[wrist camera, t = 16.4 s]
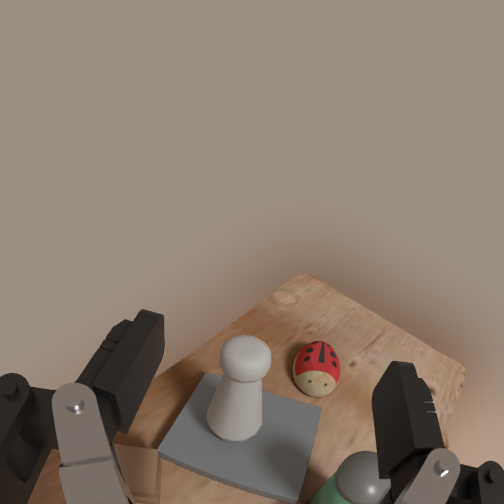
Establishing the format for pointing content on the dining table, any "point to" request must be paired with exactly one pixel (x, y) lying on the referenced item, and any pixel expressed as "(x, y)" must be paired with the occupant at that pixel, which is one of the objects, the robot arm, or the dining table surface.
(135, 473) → the brown wooden block
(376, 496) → the dark green jar
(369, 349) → the dining table surface
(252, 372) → the salt shaker
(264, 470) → the cutting board
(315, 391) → the ladybug figurine
